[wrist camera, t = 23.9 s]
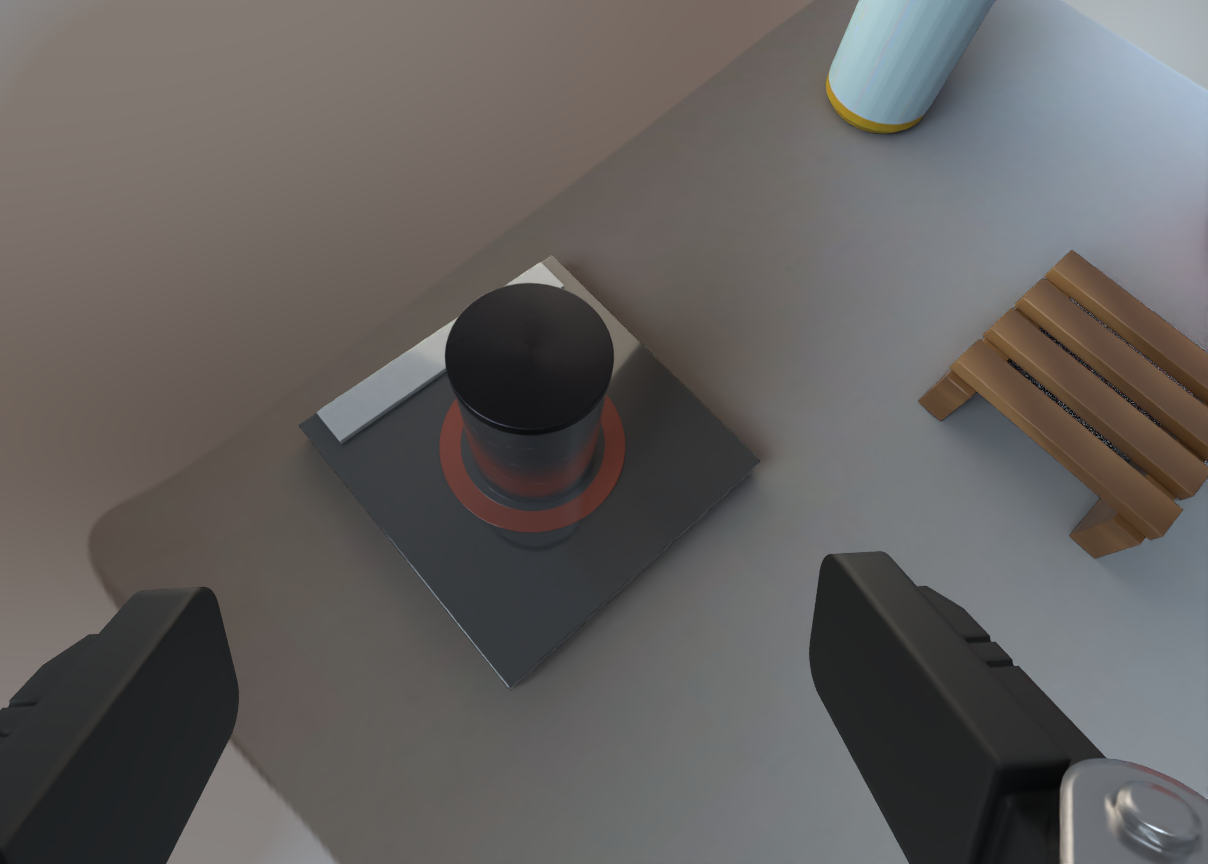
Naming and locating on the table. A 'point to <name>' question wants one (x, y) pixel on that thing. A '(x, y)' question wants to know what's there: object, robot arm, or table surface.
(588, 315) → the metal canister
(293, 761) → the table surface
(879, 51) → the bottle
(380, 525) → the stove
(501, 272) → the table surface
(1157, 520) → the wooden pallet
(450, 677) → the table surface
